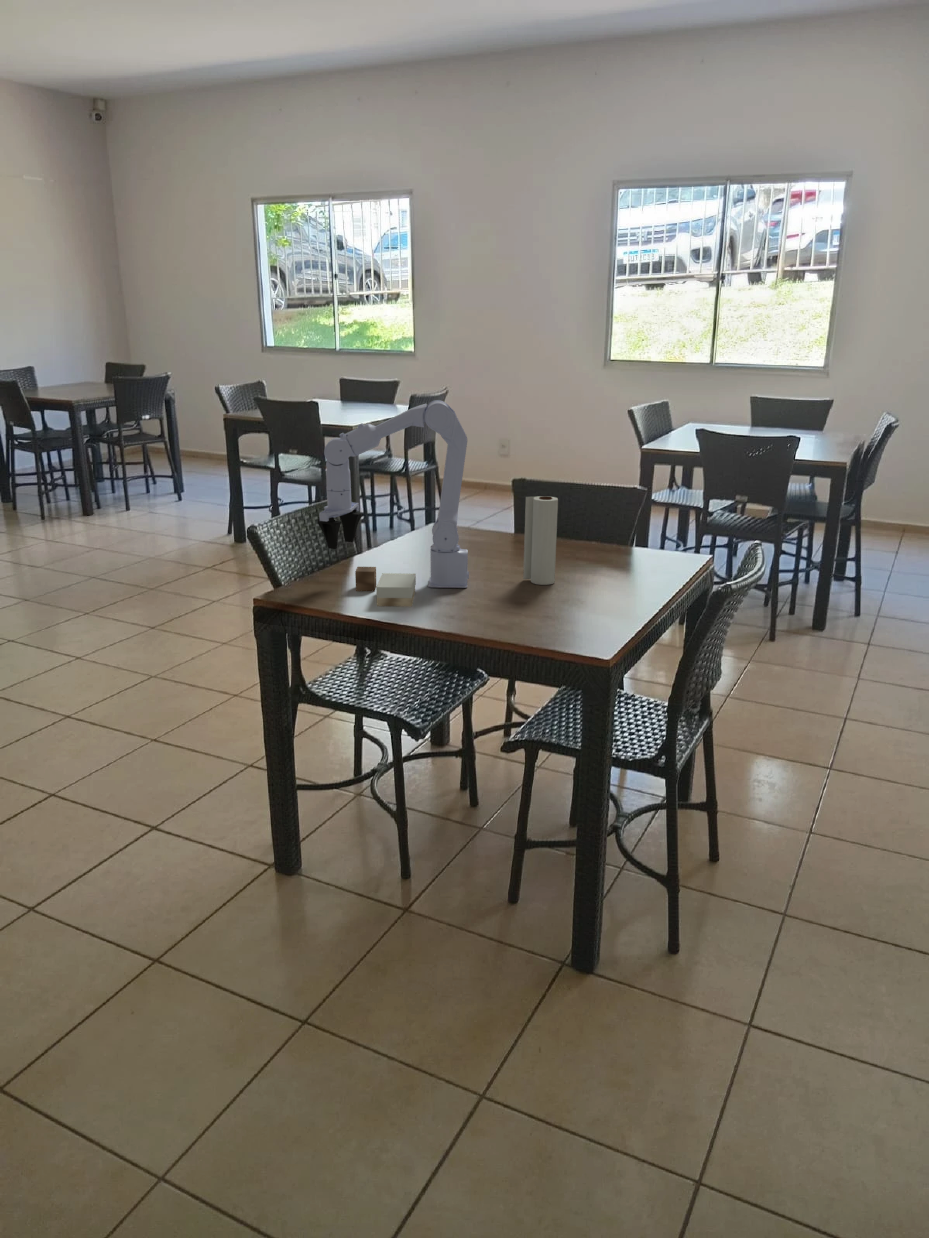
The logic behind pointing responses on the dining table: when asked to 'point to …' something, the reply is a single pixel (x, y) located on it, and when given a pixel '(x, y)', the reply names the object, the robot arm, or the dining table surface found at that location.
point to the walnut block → (365, 578)
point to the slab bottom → (396, 601)
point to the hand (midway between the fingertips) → (341, 545)
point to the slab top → (396, 585)
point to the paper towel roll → (540, 539)
